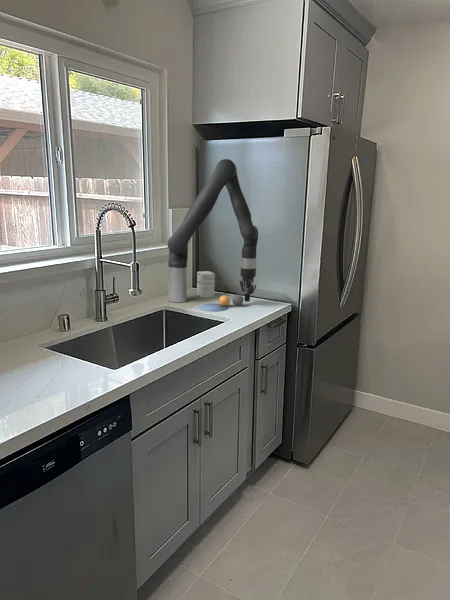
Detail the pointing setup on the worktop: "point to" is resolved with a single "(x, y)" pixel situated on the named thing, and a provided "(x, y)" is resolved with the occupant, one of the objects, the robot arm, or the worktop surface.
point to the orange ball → (224, 300)
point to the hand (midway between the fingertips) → (246, 301)
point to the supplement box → (205, 284)
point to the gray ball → (237, 300)
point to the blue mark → (213, 307)
